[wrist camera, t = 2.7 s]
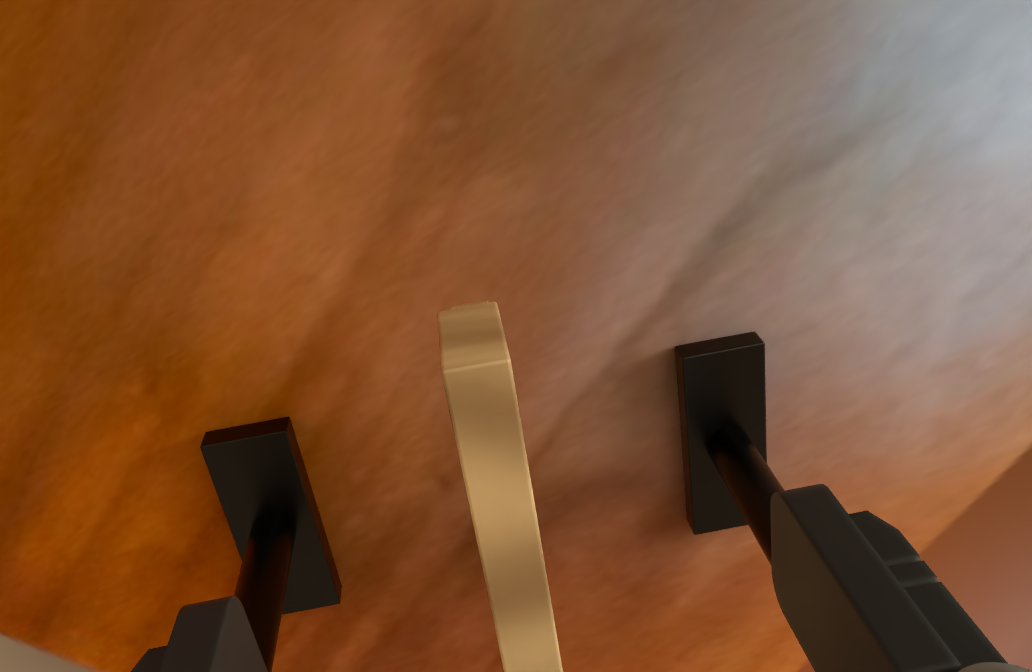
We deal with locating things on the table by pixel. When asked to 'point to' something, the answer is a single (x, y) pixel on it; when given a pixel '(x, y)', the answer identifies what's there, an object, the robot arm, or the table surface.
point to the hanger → (498, 483)
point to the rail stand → (300, 533)
